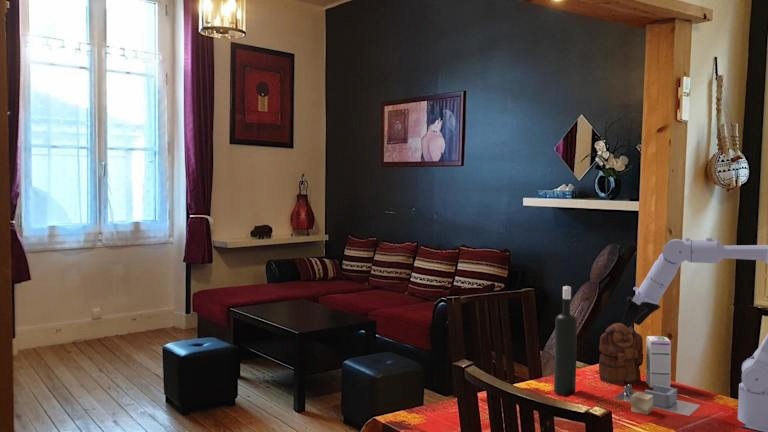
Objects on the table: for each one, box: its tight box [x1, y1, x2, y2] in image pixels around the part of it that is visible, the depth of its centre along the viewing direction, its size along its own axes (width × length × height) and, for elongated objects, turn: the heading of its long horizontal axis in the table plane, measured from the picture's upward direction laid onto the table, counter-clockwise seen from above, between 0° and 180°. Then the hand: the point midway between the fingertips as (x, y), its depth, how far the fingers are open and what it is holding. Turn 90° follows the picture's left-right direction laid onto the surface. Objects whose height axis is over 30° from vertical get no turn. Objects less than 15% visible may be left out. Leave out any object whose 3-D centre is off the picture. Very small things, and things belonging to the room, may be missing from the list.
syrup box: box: [645, 335, 672, 388], centre depth 182 cm, size 6×6×14 cm
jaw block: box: [630, 391, 654, 416], centre depth 161 cm, size 4×4×5 cm
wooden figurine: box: [598, 322, 644, 386], centre depth 185 cm, size 12×6×18 cm, turn 98°
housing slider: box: [644, 384, 679, 407], centre depth 168 cm, size 6×7×3 cm
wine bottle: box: [553, 285, 578, 397], centre depth 177 cm, size 6×6×30 cm
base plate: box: [613, 384, 701, 417], centre depth 168 cm, size 19×10×4 cm, turn 49°
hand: (630, 324), depth 168 cm, fingers open, 7 cm apart
